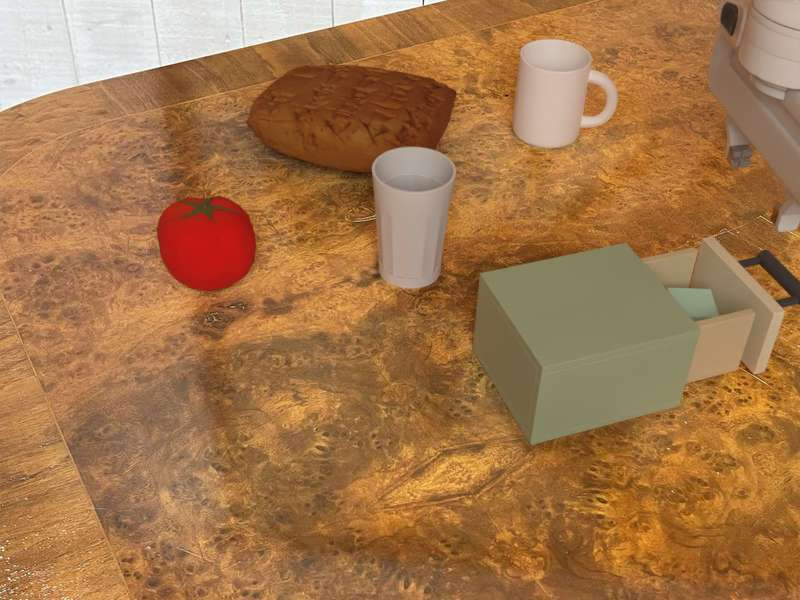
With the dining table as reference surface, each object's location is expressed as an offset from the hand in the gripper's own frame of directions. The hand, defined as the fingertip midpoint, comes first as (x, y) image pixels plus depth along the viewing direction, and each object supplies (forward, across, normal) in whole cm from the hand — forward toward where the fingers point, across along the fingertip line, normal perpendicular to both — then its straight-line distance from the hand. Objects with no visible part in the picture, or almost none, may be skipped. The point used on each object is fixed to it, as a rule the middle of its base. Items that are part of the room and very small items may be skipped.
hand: (758, 193), depth 90 cm
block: (+15, -1, +4) cm, 15 cm away
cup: (+17, +14, +27) cm, 35 cm away
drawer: (+16, -1, +3) cm, 16 cm away
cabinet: (+17, -3, +15) cm, 23 cm away
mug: (+17, +38, +4) cm, 42 cm away
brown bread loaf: (+17, +37, +30) cm, 51 cm away
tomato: (+16, +16, +47) cm, 52 cm away
